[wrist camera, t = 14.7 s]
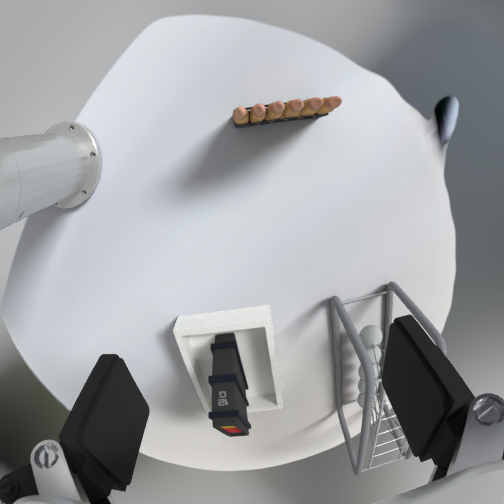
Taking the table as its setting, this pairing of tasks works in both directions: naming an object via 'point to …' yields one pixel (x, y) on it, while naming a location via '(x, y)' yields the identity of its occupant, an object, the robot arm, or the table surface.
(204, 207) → the table surface
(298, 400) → the table surface
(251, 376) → the parts tray
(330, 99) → the ammunition clip
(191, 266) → the table surface
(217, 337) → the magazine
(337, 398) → the newton's cradle
